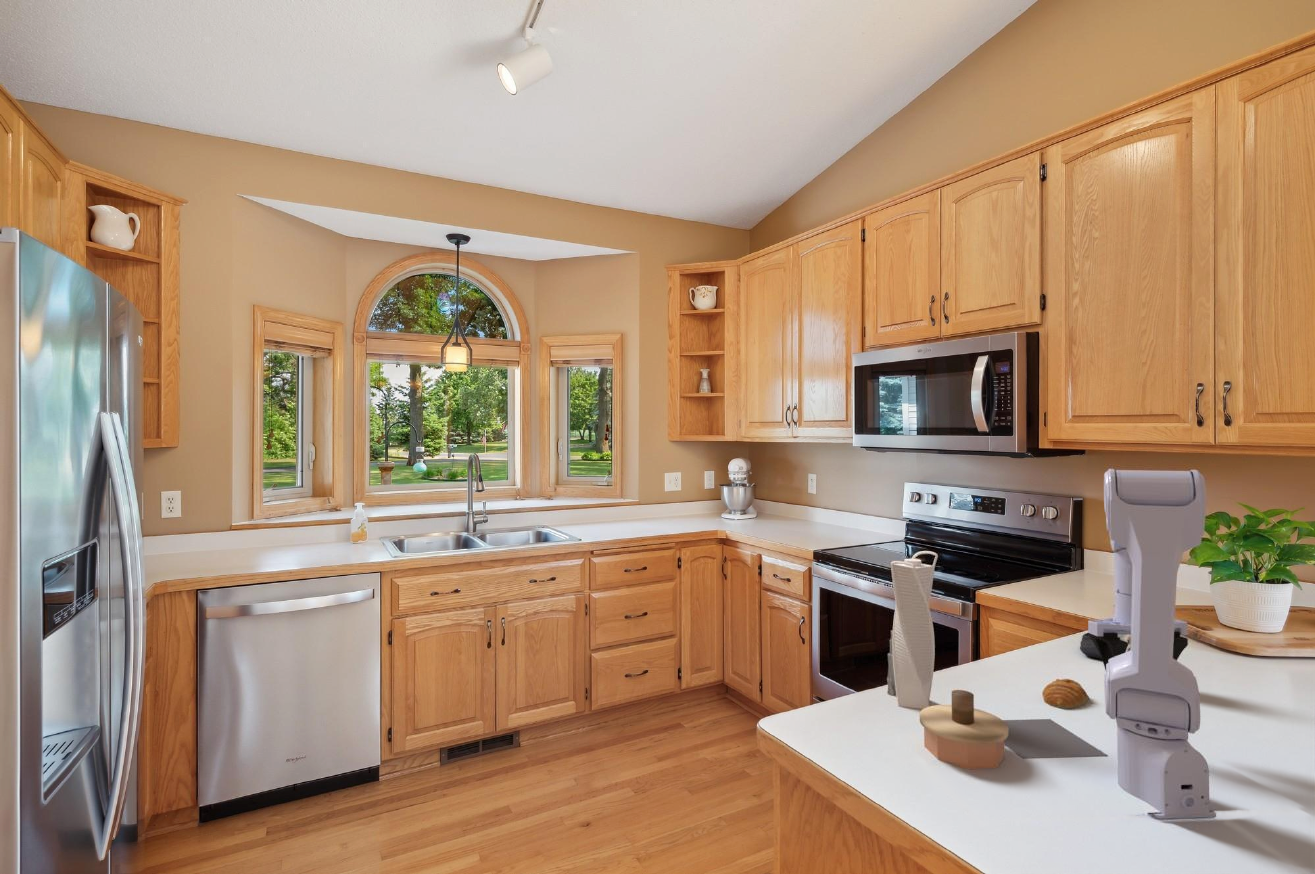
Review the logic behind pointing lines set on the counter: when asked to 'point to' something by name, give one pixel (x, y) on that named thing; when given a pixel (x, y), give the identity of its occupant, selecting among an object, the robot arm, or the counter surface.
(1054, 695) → the pastry
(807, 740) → the counter surface
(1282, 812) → the counter surface
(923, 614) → the skyscraper
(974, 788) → the counter surface
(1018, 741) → the mat
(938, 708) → the lid
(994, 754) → the bowl
